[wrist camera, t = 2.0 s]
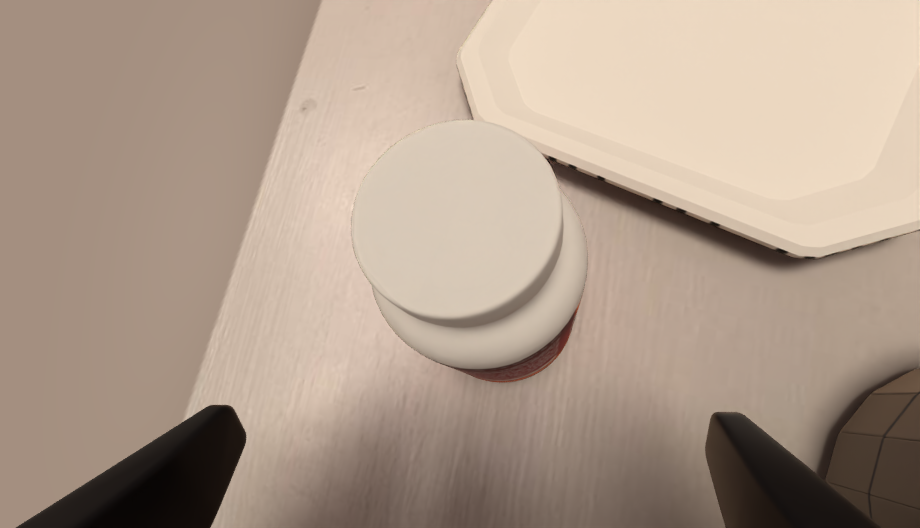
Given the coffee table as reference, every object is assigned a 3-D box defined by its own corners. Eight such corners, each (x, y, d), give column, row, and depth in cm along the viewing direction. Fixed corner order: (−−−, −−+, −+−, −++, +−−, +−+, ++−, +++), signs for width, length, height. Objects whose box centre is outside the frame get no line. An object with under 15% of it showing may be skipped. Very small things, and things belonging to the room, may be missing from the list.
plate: (867, 310, 17) (913, 298, 15) (432, 128, 23) (420, 101, 21) (1021, -71, 20) (1076, -126, 18) (604, -138, 27) (609, -184, 24)
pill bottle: (599, 345, 18) (668, 275, 8) (469, 407, 19) (370, 417, 8) (533, 225, 20) (519, 48, 10) (417, 282, 21) (287, 165, 10)
